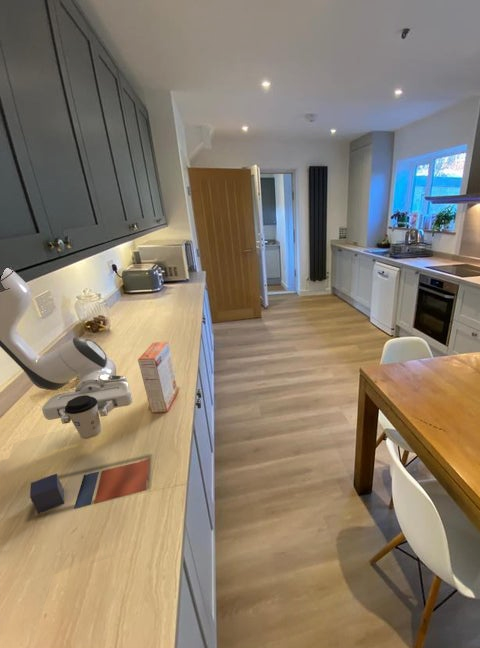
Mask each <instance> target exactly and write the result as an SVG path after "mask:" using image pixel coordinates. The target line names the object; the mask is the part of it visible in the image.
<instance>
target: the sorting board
mask: <svg viewBox="0 0 480 648" xmlns="http://www.w3.org/2000/svg"><path fill="white" fill-rule="evenodd" d="M150 463H151V460H150V458H148V459H144V460H140V461H137V462H133V463H128V464H123V465H120V466H116V467H111V468H108V469H103V470H101V473H100V471H94V472H91V473H85V474H84V475H83V477H82V479H81V483H80V487H79V490H78V493H77V496H76V500H75V503H74V506H73V509H74V510H75V509H79V508H84V507H86V506H90V505H92V504H98V503H102V502H105V501H109V500H113V499H117V498H121V497H125V496H129V495H132V494H133V495H134V494H136V493H140V492H143V491H146V490H147V486H148V485H147V484H148V483H149V481H150V480H149V479H150ZM99 474H100V476H99ZM98 479H99V481H98ZM97 484H98V486H97ZM96 487H97V490H96ZM95 491H96V493H95ZM94 494H95V498H94ZM93 499H94V502H93Z"/></svg>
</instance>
